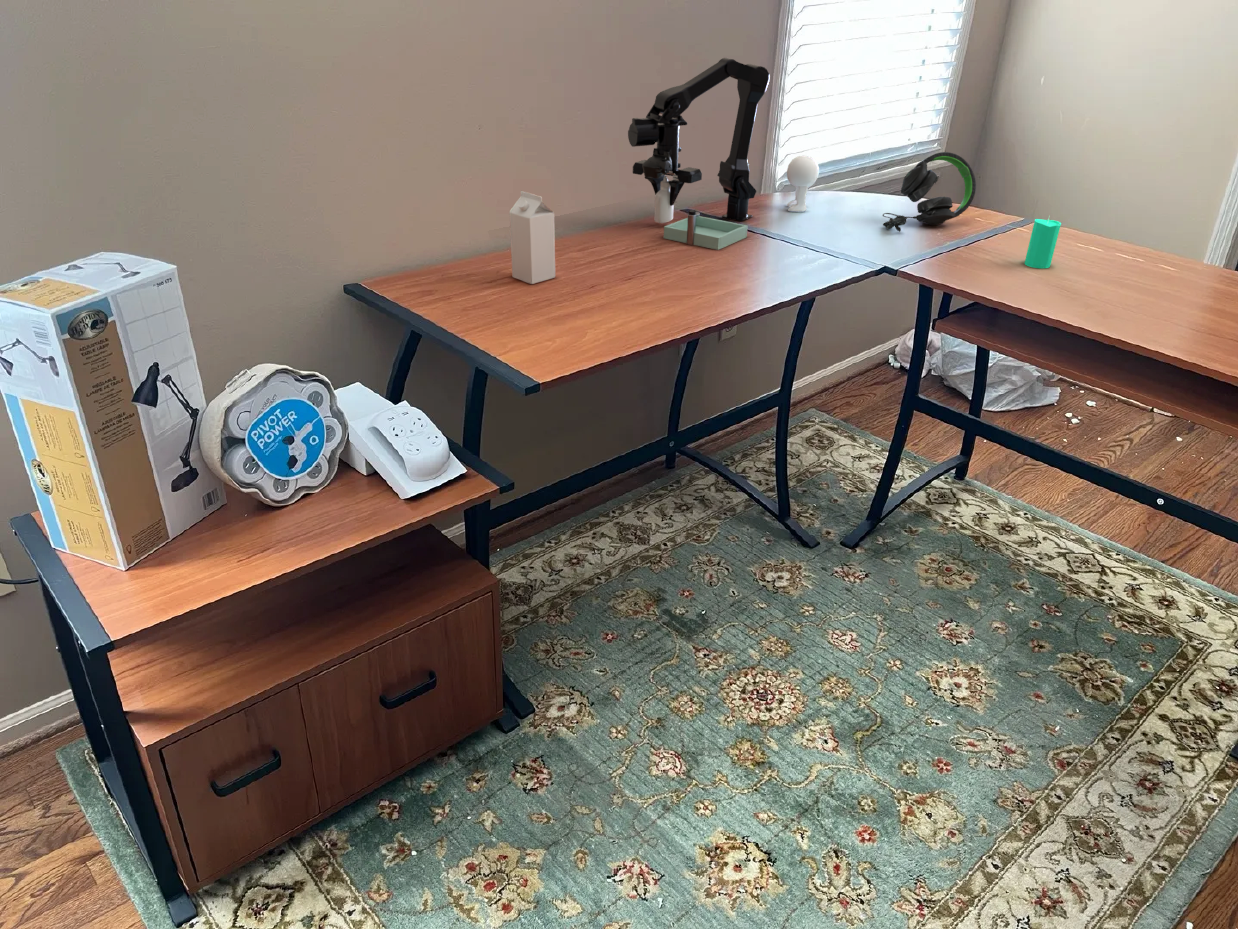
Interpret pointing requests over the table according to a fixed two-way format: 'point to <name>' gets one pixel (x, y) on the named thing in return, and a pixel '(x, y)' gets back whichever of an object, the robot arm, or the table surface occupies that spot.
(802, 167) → the toy character
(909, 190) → the headset
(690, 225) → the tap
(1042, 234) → the candle
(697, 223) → the green tray
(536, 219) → the milk carton
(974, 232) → the table surface
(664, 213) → the eye dropper bottle
